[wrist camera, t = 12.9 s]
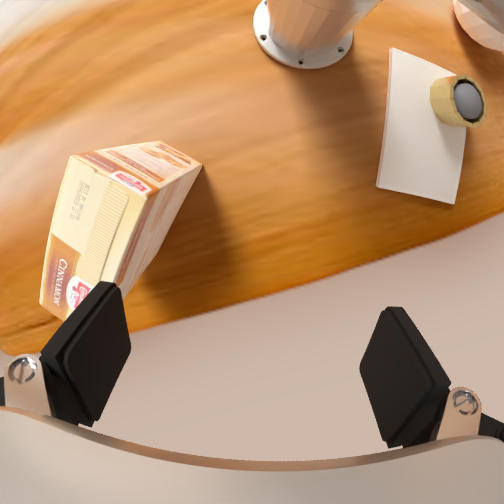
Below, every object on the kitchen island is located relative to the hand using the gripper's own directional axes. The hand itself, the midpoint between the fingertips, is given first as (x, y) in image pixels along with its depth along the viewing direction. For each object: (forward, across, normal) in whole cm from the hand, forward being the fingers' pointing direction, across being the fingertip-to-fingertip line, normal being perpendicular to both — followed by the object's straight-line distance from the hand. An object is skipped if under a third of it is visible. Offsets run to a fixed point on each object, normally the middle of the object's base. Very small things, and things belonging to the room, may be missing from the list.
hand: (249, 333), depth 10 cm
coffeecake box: (+29, +13, +3) cm, 32 cm away
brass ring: (+27, -26, -17) cm, 41 cm away
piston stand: (+28, -23, -12) cm, 38 cm away
